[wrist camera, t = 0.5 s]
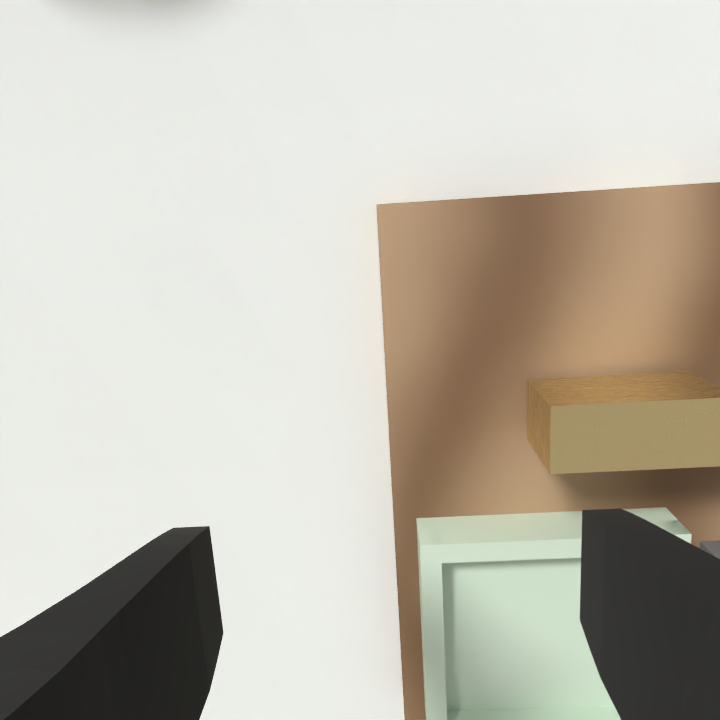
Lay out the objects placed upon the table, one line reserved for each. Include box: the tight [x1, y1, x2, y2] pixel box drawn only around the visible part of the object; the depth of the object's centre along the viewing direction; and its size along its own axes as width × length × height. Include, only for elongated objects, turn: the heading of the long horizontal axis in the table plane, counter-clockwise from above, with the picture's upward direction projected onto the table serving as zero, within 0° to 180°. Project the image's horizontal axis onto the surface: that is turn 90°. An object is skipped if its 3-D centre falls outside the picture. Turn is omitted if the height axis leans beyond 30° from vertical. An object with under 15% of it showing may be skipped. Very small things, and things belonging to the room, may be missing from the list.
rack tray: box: [416, 507, 692, 720], centre depth 19 cm, size 8×7×2 cm
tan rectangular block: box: [527, 371, 720, 474], centre depth 16 cm, size 4×2×2 cm, turn 94°
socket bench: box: [377, 182, 720, 720], centre depth 18 cm, size 18×17×3 cm
